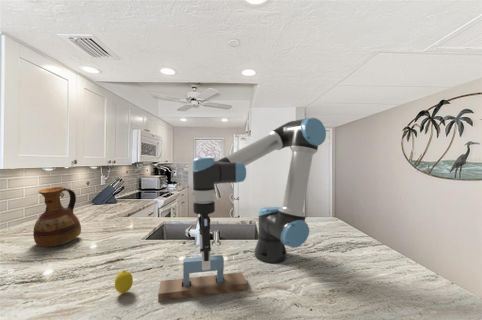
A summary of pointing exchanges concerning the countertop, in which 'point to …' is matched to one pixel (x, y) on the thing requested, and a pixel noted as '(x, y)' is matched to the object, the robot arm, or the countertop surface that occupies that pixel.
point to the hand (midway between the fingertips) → (204, 260)
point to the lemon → (123, 282)
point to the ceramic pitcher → (56, 219)
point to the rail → (201, 286)
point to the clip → (196, 266)
